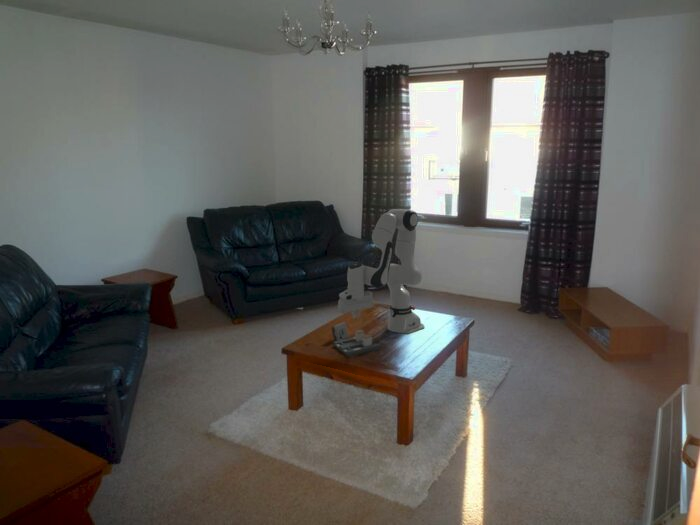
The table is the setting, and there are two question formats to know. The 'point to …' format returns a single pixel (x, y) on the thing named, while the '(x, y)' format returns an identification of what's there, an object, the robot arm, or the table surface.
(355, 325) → the table surface
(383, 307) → the table surface
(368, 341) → the tab
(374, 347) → the switch bank
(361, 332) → the tab
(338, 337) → the electrical switch
